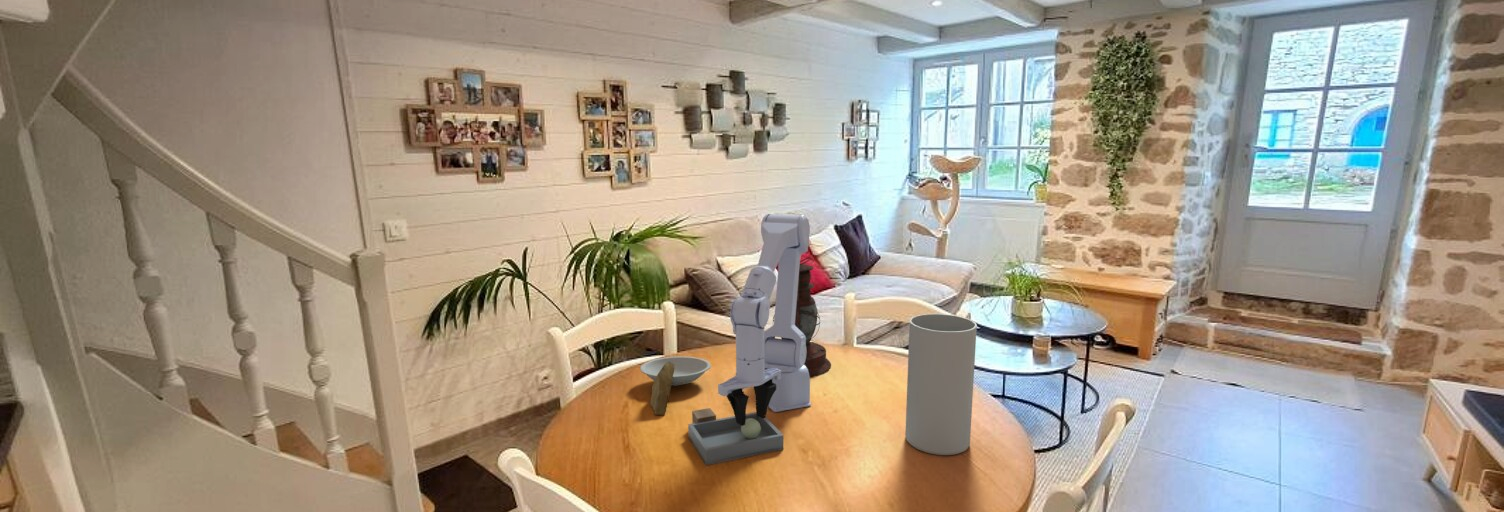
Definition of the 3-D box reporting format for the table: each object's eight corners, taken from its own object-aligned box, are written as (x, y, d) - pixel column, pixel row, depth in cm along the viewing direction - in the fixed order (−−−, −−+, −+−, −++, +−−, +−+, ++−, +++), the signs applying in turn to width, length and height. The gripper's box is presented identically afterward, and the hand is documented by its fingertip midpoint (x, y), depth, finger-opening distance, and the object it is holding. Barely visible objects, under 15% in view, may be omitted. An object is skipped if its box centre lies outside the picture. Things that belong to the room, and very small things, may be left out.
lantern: (764, 352, 179) (763, 250, 174) (830, 354, 177) (831, 251, 172) (758, 376, 161) (757, 263, 155) (832, 378, 159) (833, 264, 153)
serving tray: (760, 424, 133) (760, 411, 133) (783, 449, 122) (783, 435, 122) (688, 437, 127) (688, 424, 127) (706, 465, 116) (705, 450, 116)
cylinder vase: (936, 463, 116) (942, 335, 112) (892, 435, 127) (896, 319, 123) (983, 447, 122) (991, 326, 118) (937, 423, 133) (943, 310, 129)
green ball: (752, 431, 129) (752, 413, 128) (764, 438, 126) (765, 420, 125) (737, 436, 126) (737, 418, 125) (749, 444, 123) (749, 425, 122)
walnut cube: (710, 425, 133) (710, 407, 132) (716, 433, 129) (715, 415, 129) (692, 428, 132) (692, 411, 131) (698, 436, 128) (697, 418, 127)
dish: (711, 373, 163) (710, 355, 162) (711, 394, 149) (711, 375, 148) (644, 375, 162) (643, 357, 161) (637, 397, 148) (636, 377, 147)
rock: (673, 409, 136) (693, 387, 144) (649, 379, 135) (671, 358, 144) (642, 429, 141) (663, 406, 149) (619, 399, 140) (642, 379, 149)
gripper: (766, 343, 130) (766, 404, 133) (708, 358, 122) (710, 423, 124) (787, 352, 125) (787, 415, 127) (729, 368, 116) (730, 435, 118)
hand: (750, 420), depth 125 cm, fingers open, 5 cm apart
